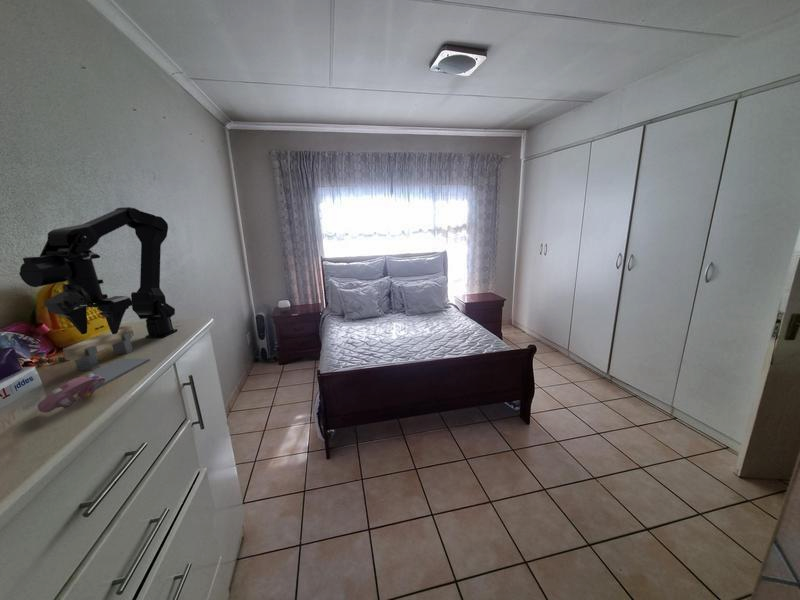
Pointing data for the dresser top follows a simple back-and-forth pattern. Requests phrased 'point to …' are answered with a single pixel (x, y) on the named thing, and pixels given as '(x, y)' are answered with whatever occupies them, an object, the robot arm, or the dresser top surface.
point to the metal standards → (90, 359)
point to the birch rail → (95, 343)
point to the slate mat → (118, 368)
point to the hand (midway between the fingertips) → (99, 333)
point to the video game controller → (71, 392)
